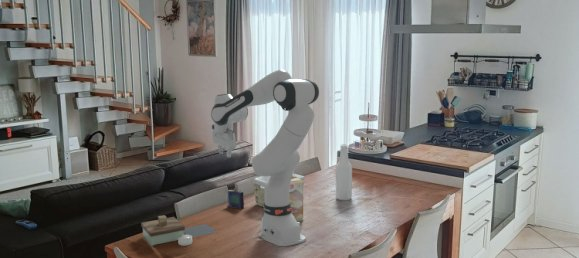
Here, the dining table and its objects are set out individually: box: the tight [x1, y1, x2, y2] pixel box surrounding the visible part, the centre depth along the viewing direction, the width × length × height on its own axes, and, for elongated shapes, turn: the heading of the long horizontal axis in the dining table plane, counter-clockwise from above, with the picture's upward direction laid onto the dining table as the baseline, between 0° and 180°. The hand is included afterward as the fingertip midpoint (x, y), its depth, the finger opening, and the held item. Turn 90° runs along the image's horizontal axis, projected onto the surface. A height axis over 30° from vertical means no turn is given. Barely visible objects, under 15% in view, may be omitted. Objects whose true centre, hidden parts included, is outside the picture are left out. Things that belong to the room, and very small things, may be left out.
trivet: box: [183, 223, 218, 238], centre depth 238 cm, size 13×13×1 cm
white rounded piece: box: [177, 234, 193, 247], centre depth 223 cm, size 6×6×4 cm
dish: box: [142, 228, 185, 248], centre depth 230 cm, size 14×14×5 cm
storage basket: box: [252, 172, 305, 208], centre depth 278 cm, size 24×16×15 cm
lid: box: [140, 214, 186, 237], centre depth 230 cm, size 15×15×5 cm
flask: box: [227, 186, 245, 210], centre depth 273 cm, size 9×3×11 cm, turn 65°
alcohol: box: [335, 143, 353, 201], centre depth 285 cm, size 9×9×30 cm
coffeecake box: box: [289, 178, 304, 222], centre depth 252 cm, size 15×7×20 cm, turn 105°
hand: (224, 155), depth 255 cm, fingers open, 8 cm apart
